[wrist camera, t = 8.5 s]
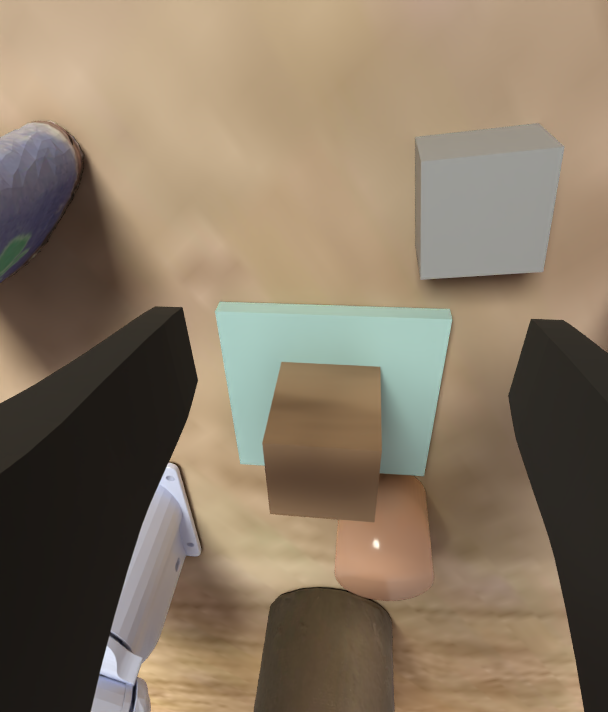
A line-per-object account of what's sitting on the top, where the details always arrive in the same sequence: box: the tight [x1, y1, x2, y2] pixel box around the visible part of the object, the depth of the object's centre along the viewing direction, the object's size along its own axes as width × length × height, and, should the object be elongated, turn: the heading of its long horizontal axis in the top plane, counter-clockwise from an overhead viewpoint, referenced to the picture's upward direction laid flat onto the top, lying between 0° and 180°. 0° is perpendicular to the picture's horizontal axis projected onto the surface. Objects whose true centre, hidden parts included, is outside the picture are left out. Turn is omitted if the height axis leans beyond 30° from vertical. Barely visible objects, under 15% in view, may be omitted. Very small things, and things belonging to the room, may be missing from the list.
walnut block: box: [262, 362, 382, 522], centre depth 22 cm, size 4×4×5 cm
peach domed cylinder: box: [335, 473, 434, 601], centre depth 27 cm, size 5×5×5 cm
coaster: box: [215, 302, 452, 476], centre depth 24 cm, size 10×10×1 cm
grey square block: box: [415, 123, 564, 280], centre depth 17 cm, size 4×4×3 cm
